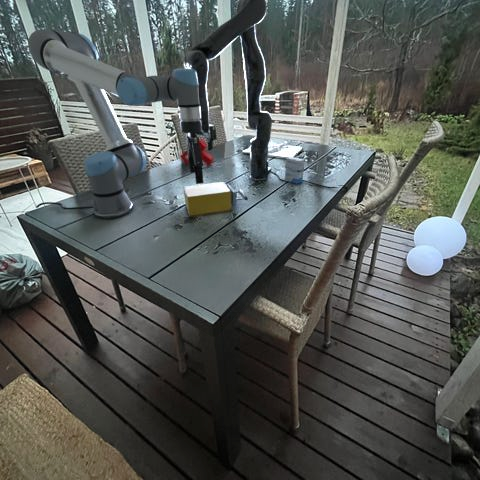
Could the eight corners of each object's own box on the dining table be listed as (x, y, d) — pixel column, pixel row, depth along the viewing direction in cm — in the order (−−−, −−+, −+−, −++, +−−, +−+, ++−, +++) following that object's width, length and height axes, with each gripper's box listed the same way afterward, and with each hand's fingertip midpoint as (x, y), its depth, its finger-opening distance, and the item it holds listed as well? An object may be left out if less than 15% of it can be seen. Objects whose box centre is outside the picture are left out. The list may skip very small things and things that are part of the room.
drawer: (241, 196, 124) (240, 182, 121) (248, 205, 116) (248, 190, 113) (194, 203, 119) (192, 188, 115) (198, 213, 111) (197, 197, 107)
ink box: (302, 181, 142) (305, 159, 136) (297, 184, 139) (300, 161, 133) (289, 177, 147) (291, 156, 141) (284, 180, 144) (285, 158, 138)
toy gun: (217, 159, 166) (202, 137, 162) (214, 161, 163) (199, 139, 159) (198, 174, 176) (183, 154, 172) (195, 176, 173) (180, 156, 169)
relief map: (291, 159, 177) (291, 151, 174) (243, 153, 190) (243, 145, 187) (302, 149, 197) (303, 142, 194) (258, 144, 211) (258, 137, 208)
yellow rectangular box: (224, 200, 123) (223, 181, 119) (231, 211, 114) (230, 191, 110) (185, 206, 119) (183, 186, 114) (189, 217, 110) (187, 197, 105)
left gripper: (175, 115, 105) (182, 169, 117) (185, 126, 85) (192, 189, 97) (194, 114, 107) (199, 167, 119) (208, 124, 87) (212, 187, 99)
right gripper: (180, 109, 113) (185, 148, 122) (207, 111, 107) (210, 153, 116) (192, 107, 119) (195, 145, 127) (218, 109, 112) (220, 149, 121)
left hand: (196, 177), depth 108 cm, fingers open, 13 cm apart
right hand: (202, 148), depth 122 cm, fingers open, 8 cm apart
